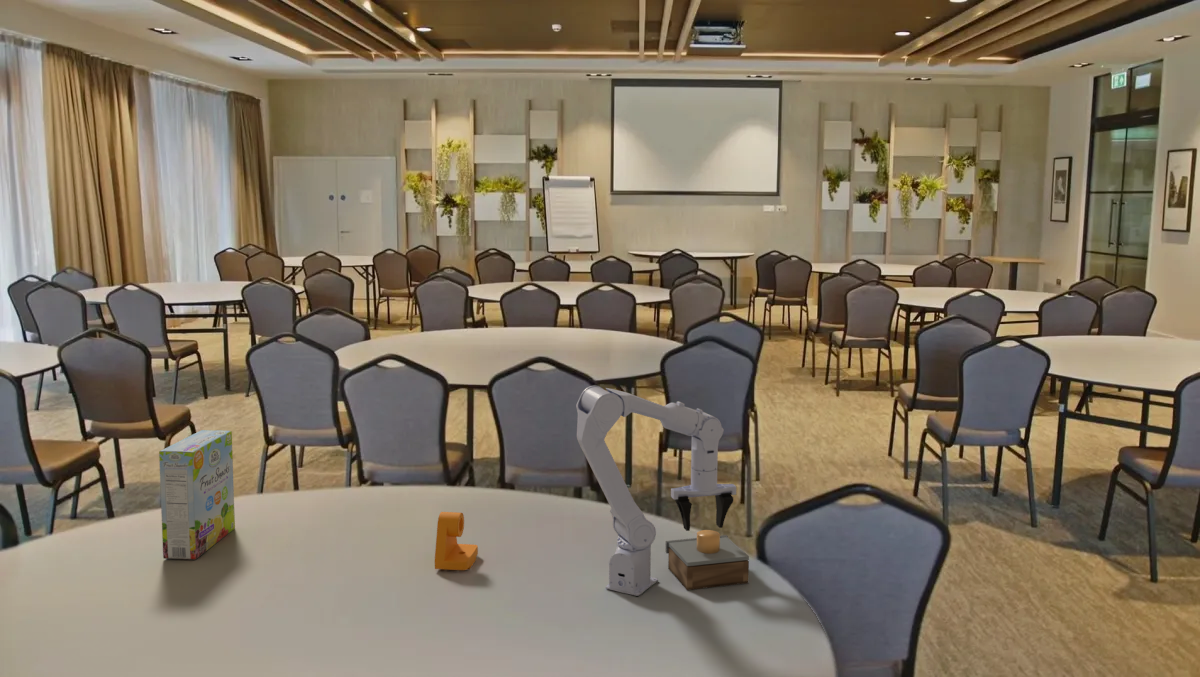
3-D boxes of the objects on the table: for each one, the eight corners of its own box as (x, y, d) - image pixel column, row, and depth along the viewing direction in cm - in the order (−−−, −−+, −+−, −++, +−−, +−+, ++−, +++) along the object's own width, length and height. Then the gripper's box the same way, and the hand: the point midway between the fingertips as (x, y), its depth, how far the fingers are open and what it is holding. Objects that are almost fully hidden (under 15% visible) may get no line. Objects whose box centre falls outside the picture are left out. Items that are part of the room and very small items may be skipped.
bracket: (466, 574, 202) (465, 521, 200) (434, 572, 203) (433, 520, 201) (478, 555, 213) (477, 506, 211) (448, 554, 213) (447, 504, 212)
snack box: (199, 561, 209) (192, 451, 206) (161, 560, 209) (154, 451, 206) (238, 528, 231) (233, 428, 227) (204, 528, 231) (198, 428, 227)
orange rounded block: (714, 555, 197) (714, 539, 196) (692, 550, 199) (693, 535, 198) (723, 547, 201) (723, 532, 200) (701, 543, 203) (702, 528, 203)
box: (748, 583, 197) (748, 561, 196) (687, 590, 193) (687, 567, 193) (726, 562, 208) (726, 541, 208) (668, 568, 205) (668, 547, 204)
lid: (750, 567, 196) (750, 556, 196) (685, 574, 193) (686, 562, 192) (726, 546, 209) (726, 535, 209) (665, 552, 205) (665, 541, 205)
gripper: (728, 460, 205) (727, 519, 207) (666, 465, 201) (666, 524, 203) (740, 469, 198) (739, 529, 200) (677, 474, 194) (676, 535, 196)
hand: (703, 527), depth 201 cm, fingers open, 7 cm apart
